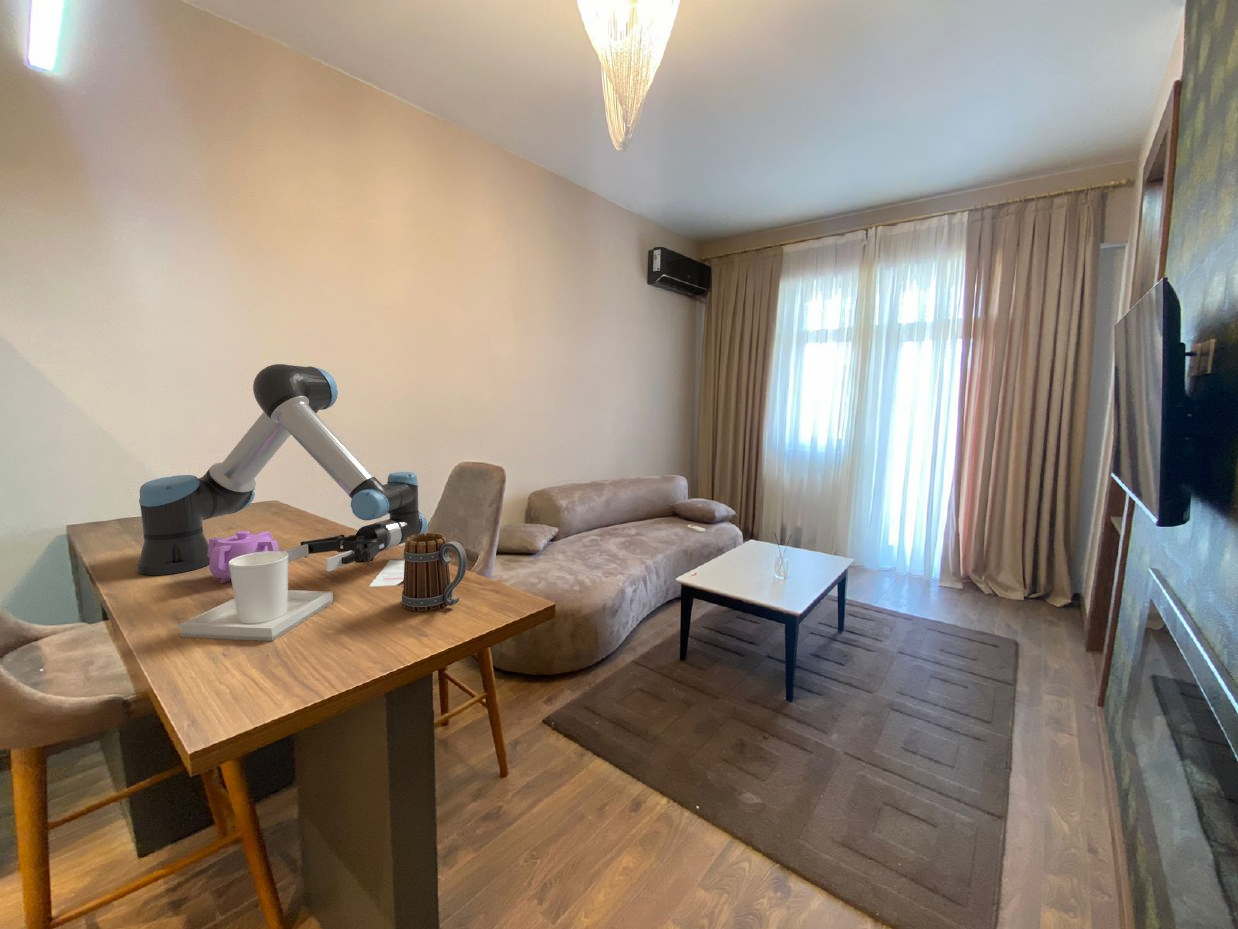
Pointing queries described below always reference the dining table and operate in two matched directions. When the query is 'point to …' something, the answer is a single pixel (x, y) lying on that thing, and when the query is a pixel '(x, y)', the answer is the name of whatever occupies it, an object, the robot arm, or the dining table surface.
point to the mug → (430, 572)
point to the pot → (236, 550)
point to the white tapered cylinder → (260, 586)
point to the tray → (227, 626)
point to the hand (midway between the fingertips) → (303, 561)
